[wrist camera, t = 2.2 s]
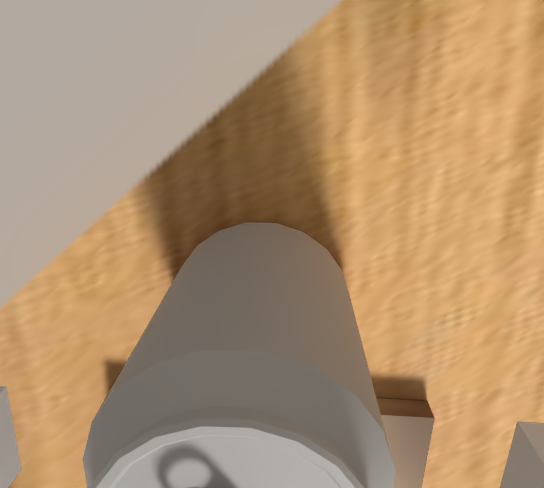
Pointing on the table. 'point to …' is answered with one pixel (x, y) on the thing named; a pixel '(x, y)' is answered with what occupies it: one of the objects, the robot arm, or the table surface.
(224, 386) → the can
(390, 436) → the board
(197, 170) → the table surface
